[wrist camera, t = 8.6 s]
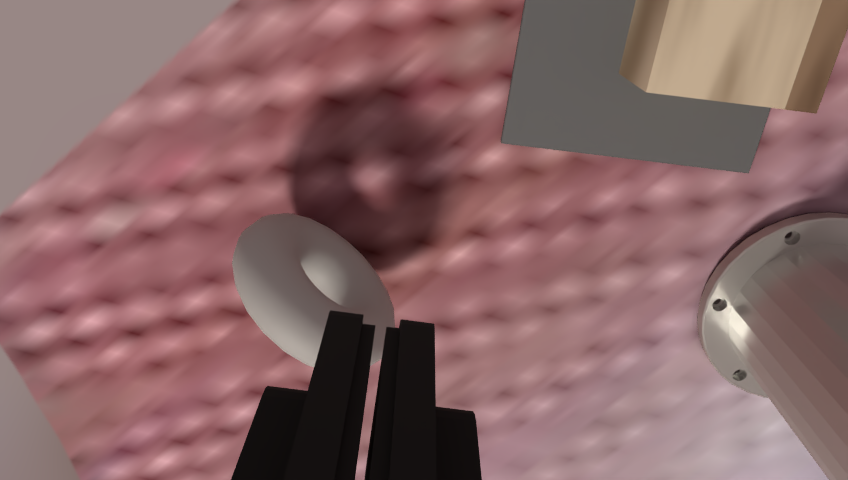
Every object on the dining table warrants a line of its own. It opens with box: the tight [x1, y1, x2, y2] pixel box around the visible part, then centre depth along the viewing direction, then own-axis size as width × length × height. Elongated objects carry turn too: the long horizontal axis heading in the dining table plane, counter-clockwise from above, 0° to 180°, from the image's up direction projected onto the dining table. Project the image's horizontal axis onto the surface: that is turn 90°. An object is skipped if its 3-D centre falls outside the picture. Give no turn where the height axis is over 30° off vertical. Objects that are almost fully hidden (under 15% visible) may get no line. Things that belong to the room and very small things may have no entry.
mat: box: [501, 0, 771, 173], centre depth 34 cm, size 14×12×1 cm
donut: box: [232, 213, 395, 367], centre depth 35 cm, size 10×4×10 cm, turn 47°
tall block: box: [619, 0, 848, 113], centre depth 31 cm, size 5×5×8 cm
